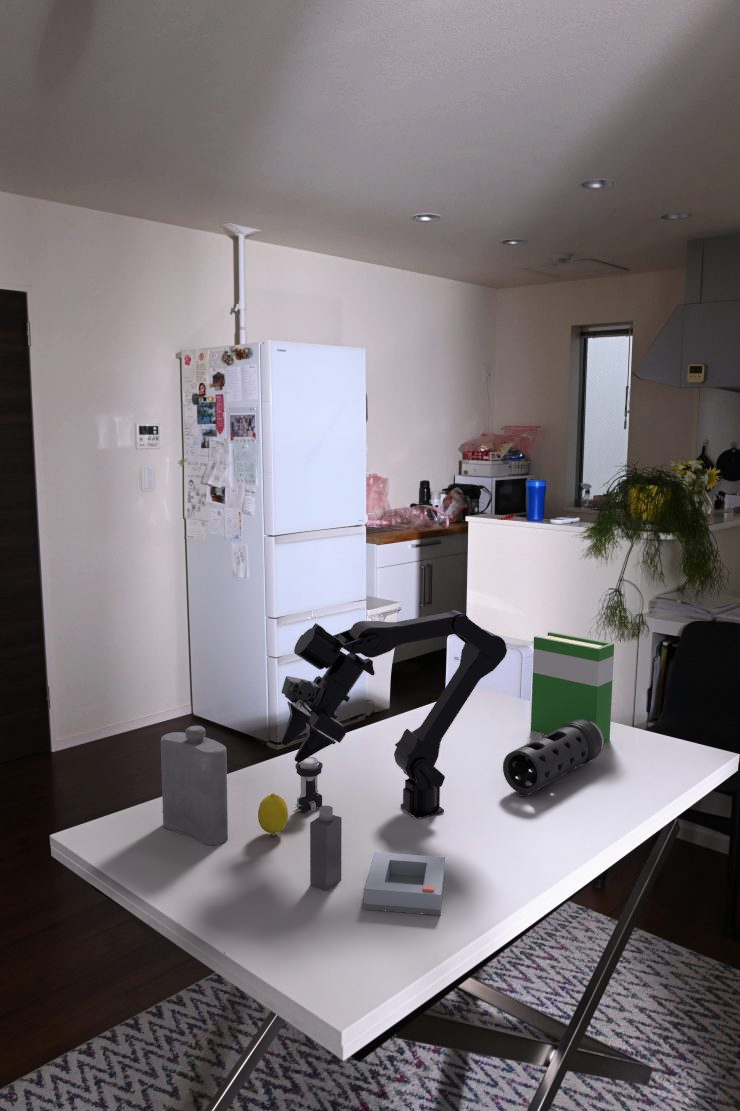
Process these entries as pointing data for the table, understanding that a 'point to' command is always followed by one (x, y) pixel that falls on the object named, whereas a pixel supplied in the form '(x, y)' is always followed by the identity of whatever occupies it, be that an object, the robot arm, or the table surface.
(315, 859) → the plug
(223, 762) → the flask
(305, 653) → the robot arm
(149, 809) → the table surface
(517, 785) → the muzzle brake
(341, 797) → the table surface
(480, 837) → the table surface
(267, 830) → the lemon
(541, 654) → the hardback book
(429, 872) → the socket box
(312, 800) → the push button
